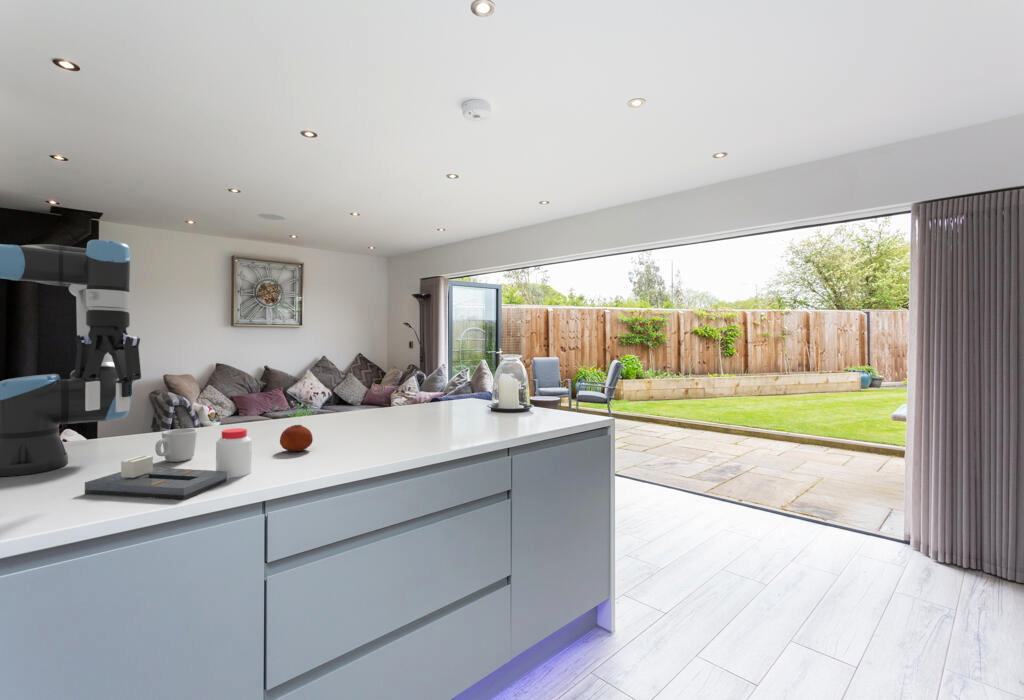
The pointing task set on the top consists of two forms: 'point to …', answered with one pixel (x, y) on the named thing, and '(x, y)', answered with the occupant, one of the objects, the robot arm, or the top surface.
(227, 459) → the pill bottle
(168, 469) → the console
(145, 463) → the fader
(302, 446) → the fruit
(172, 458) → the cup
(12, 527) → the top surface
